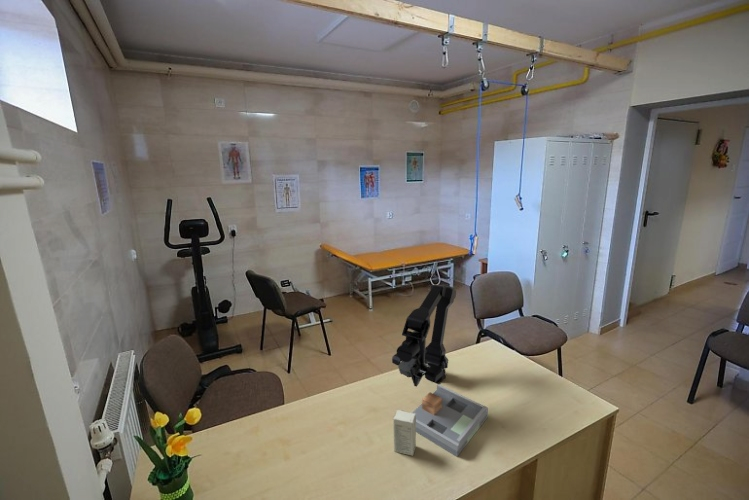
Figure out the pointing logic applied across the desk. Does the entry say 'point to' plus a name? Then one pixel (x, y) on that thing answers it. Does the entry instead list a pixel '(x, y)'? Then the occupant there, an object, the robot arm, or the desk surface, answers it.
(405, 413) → the skincare box
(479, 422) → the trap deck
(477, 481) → the desk surface
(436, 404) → the block
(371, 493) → the desk surface
